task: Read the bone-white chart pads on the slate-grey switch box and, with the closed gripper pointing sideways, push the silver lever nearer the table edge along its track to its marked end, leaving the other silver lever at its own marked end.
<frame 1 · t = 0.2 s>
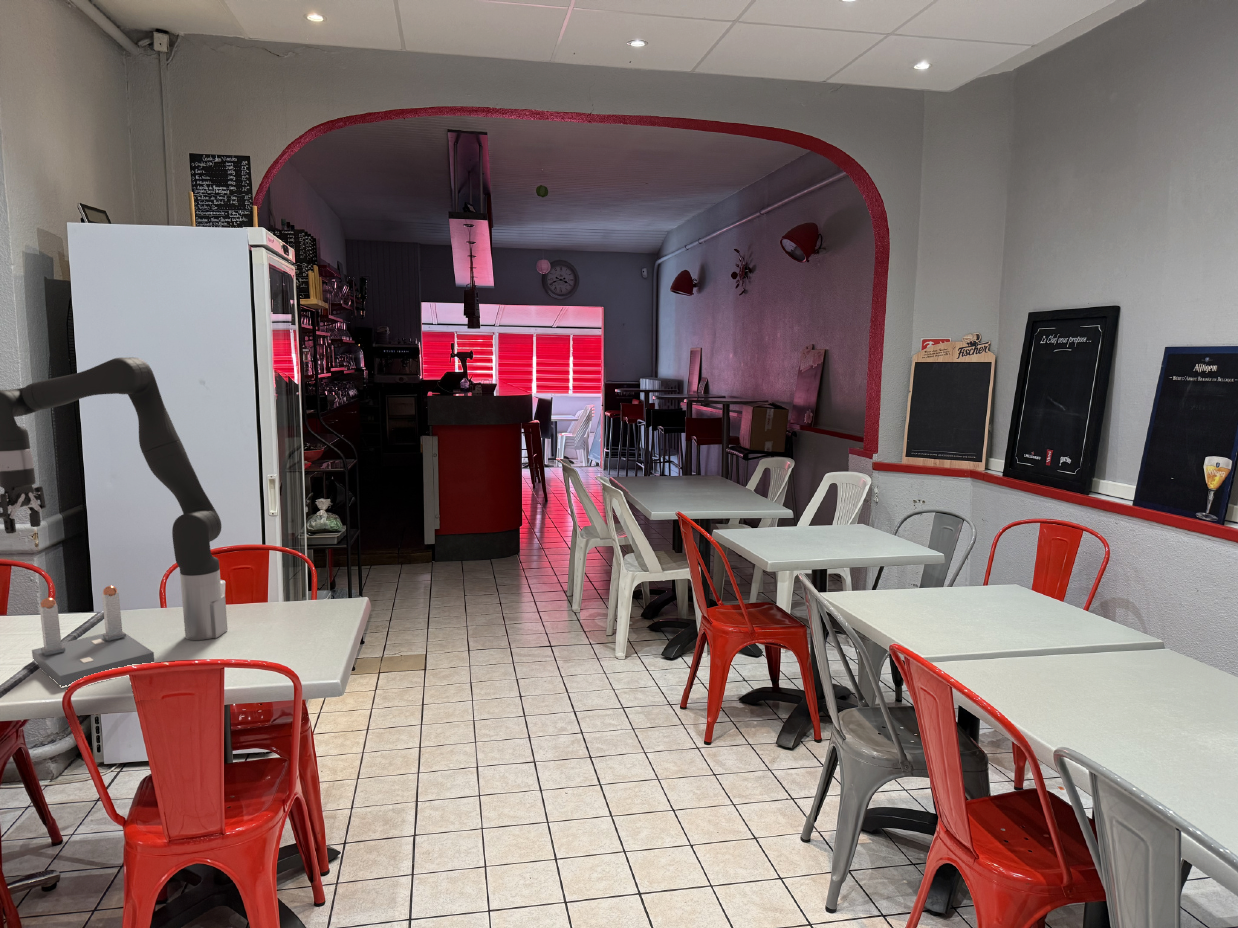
hand: (23, 529, 211), 29 cm above the table, tool pointing down, fingers open, 8 cm apart
lever inner: (112, 611, 204), point 10 cm above the table, slide at 0.0 cm
switch box: (93, 662, 196), on the table
shot glass: (214, 606, 240), on the table
lever edge: (50, 624, 194), point 10 cm above the table, slide at 0.0 cm
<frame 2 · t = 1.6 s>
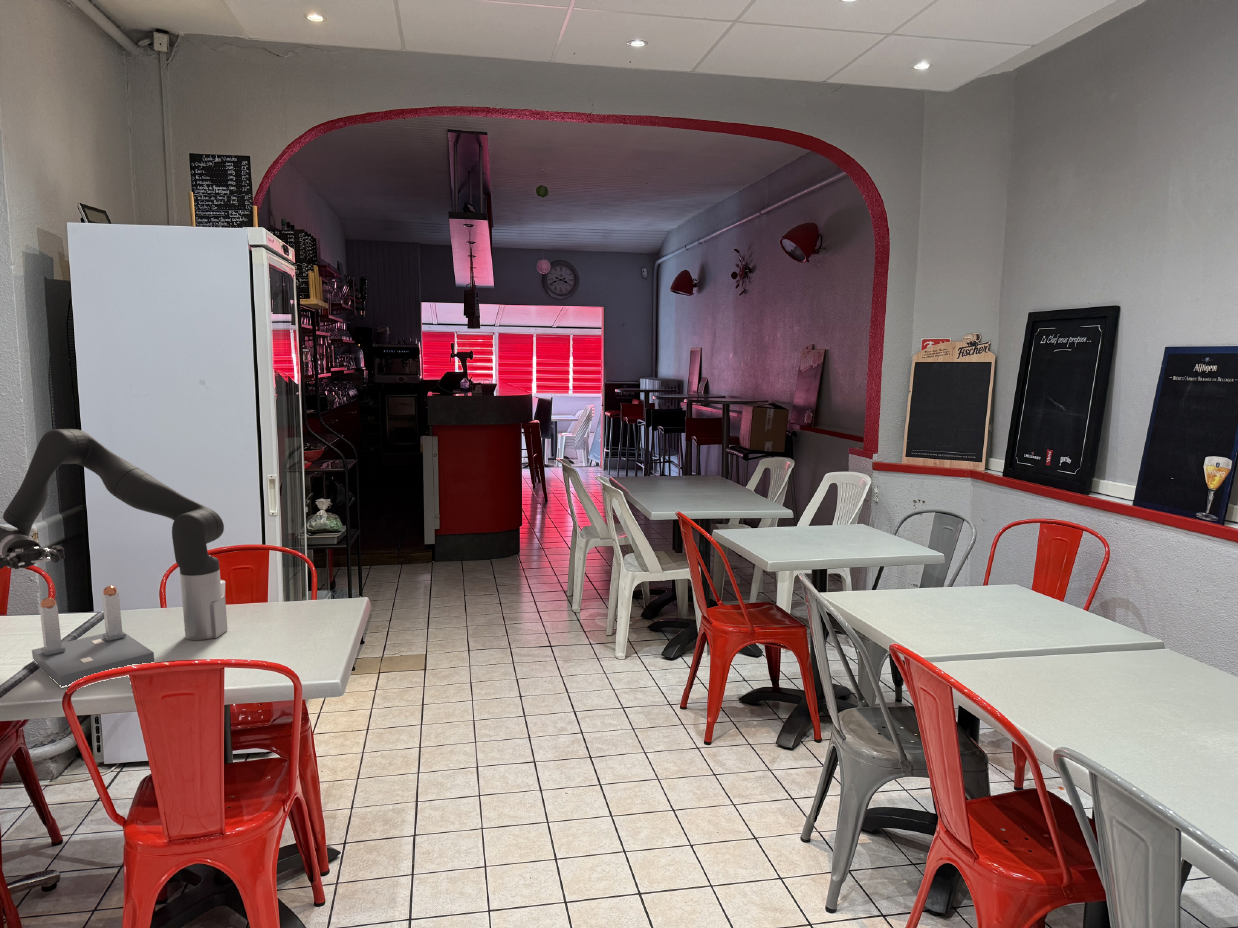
hand: (37, 561, 196), 24 cm above the table, tool horizontal, fingers open, 7 cm apart
nothing on the table moved.
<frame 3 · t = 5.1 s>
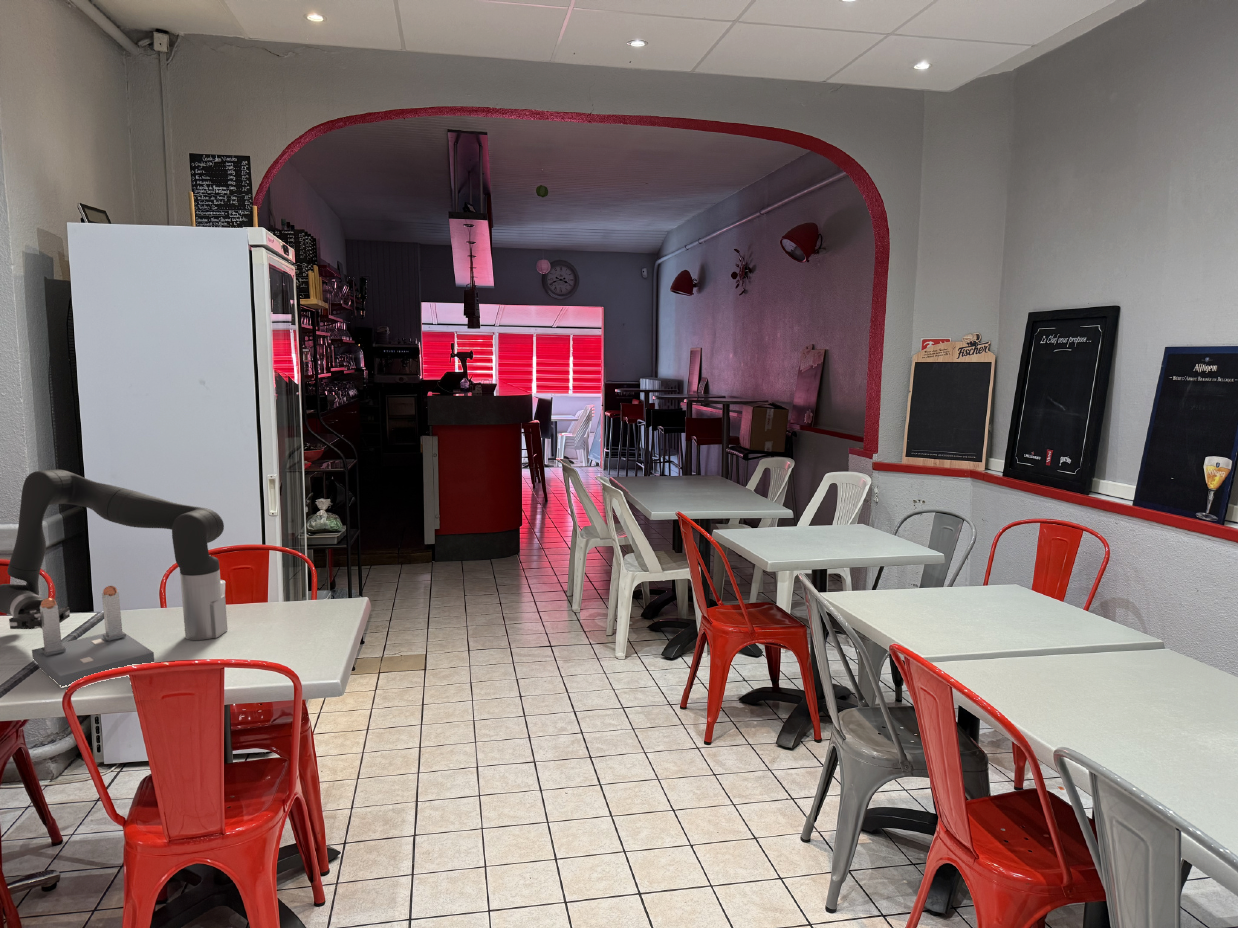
hand: (49, 625, 195), 9 cm above the table, tool horizontal, fingers closed
lever edge: (50, 624, 194), point 10 cm above the table, slide at 0.3 cm, touching gripper
everything else where it was.
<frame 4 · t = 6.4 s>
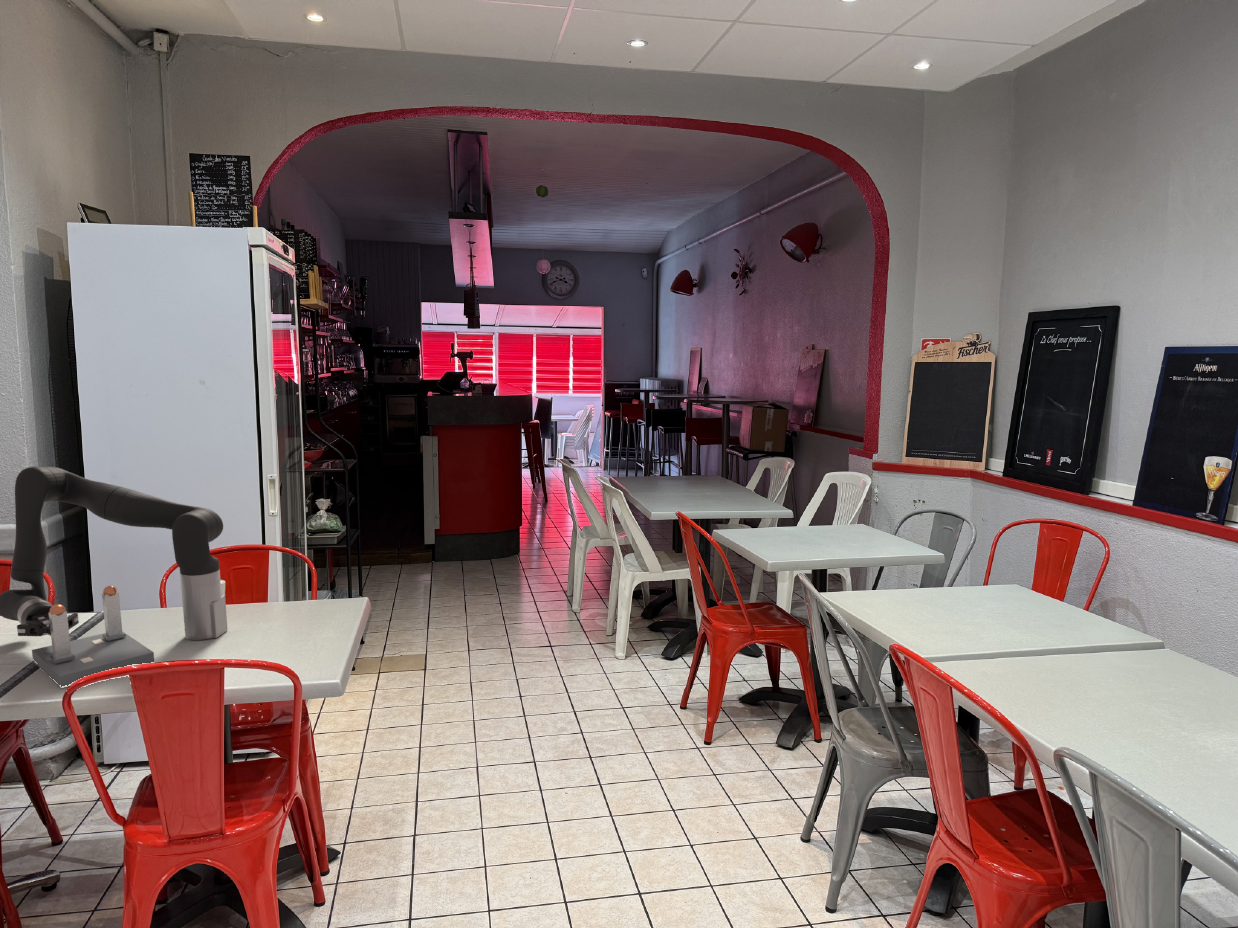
hand: (58, 632, 190), 9 cm above the table, tool horizontal, fingers closed
lever edge: (59, 631, 189), point 10 cm above the table, slide at 7.7 cm, touching gripper
everything else where it was.
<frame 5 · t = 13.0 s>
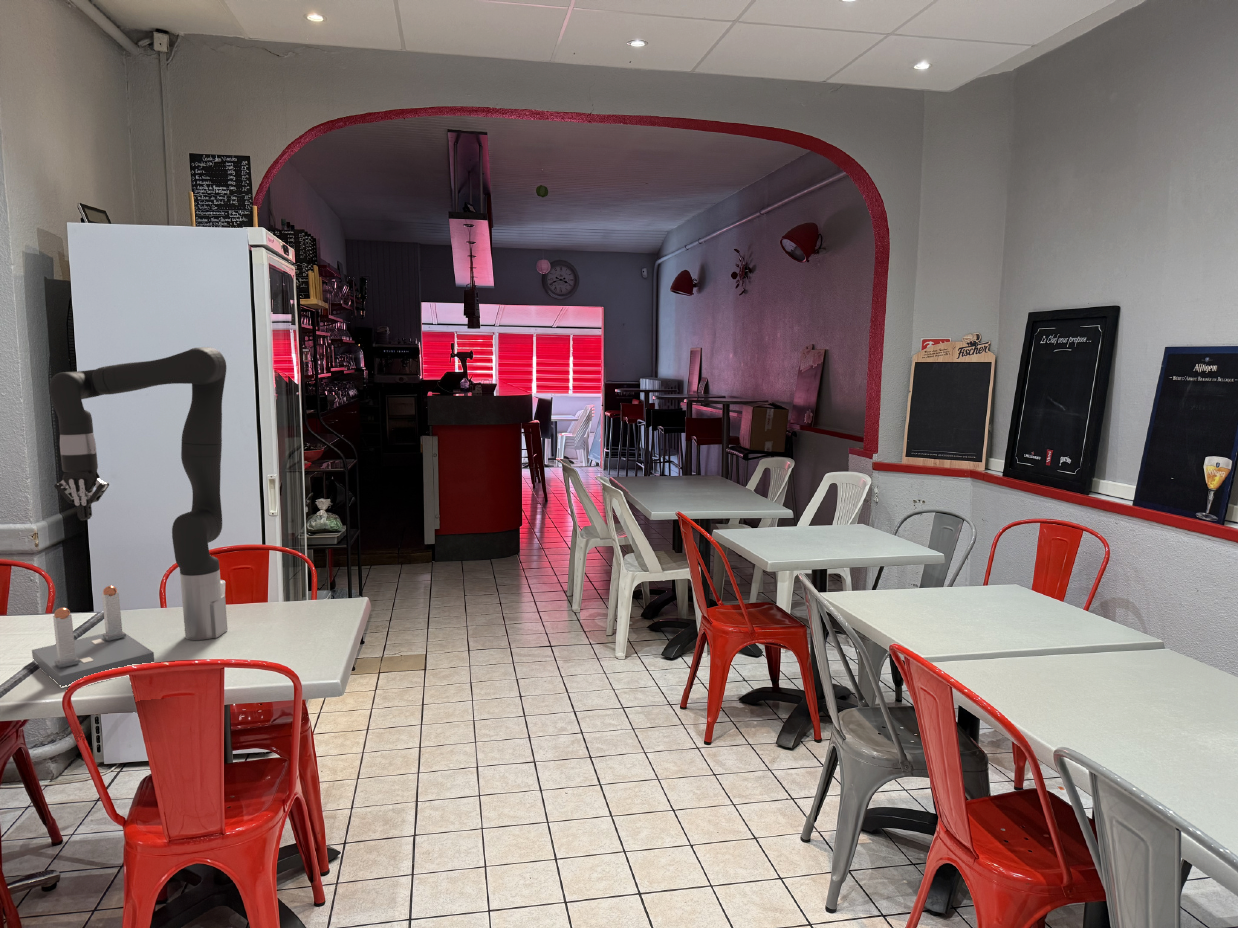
hand: (85, 519, 207), 32 cm above the table, tool pointing down, fingers closed
lever edge: (64, 635, 186), point 10 cm above the table, slide at 11.5 cm
everything else where it was.
at the end: lever edge slide at 11.5 cm; lever inner slide at 0.0 cm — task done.
